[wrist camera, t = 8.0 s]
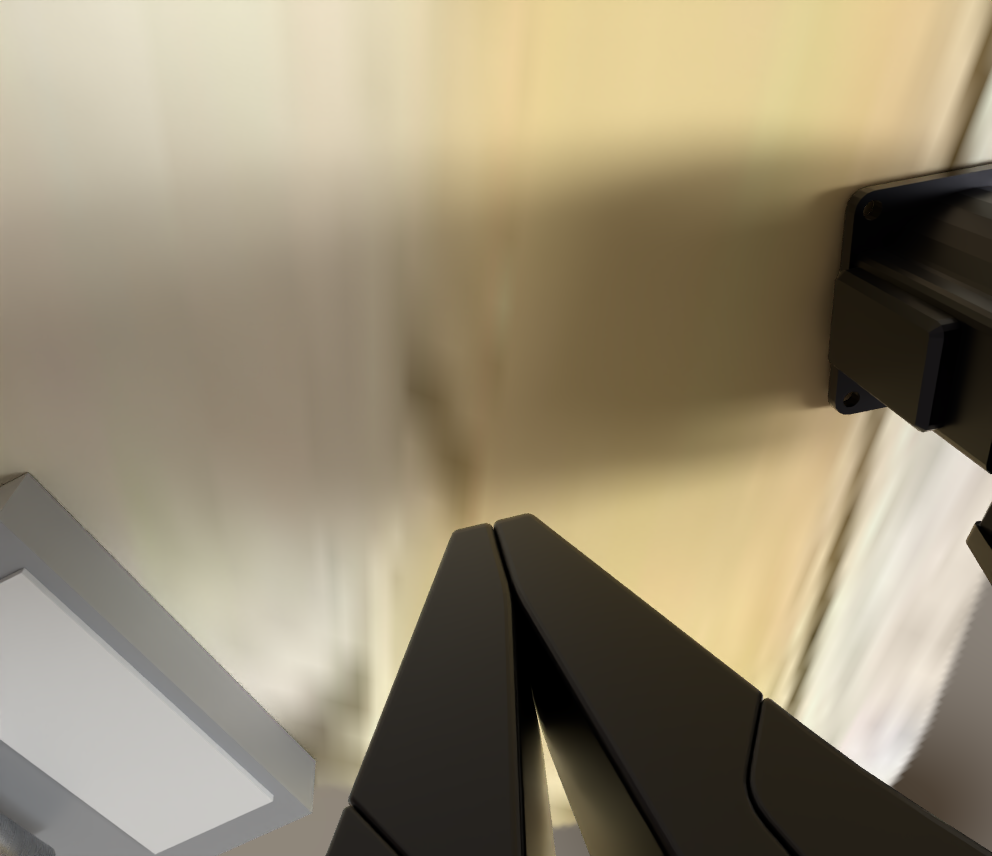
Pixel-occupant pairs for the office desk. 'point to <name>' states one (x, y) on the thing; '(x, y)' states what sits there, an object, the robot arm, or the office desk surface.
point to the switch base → (122, 708)
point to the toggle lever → (20, 841)
